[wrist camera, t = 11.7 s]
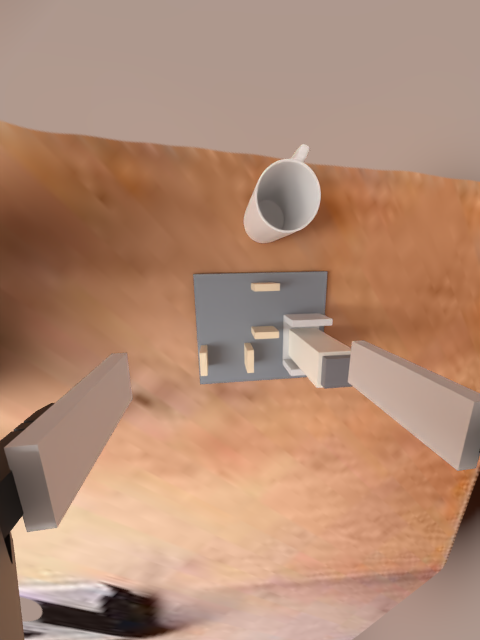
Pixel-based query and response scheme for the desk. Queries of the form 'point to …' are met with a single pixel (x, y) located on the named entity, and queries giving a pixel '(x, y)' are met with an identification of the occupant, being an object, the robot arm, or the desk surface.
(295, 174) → the mug
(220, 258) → the desk surface
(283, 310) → the board
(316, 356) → the block
